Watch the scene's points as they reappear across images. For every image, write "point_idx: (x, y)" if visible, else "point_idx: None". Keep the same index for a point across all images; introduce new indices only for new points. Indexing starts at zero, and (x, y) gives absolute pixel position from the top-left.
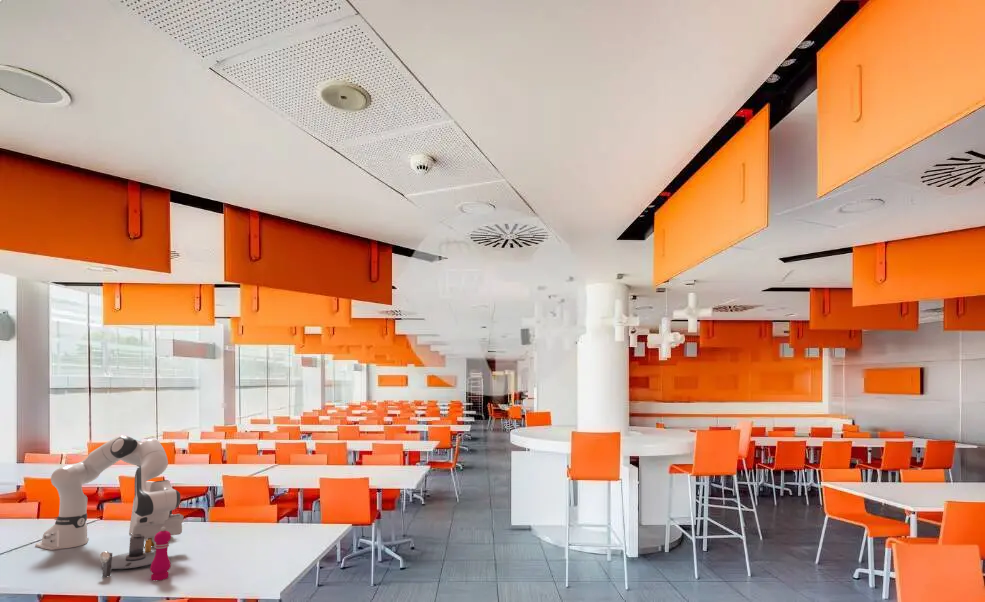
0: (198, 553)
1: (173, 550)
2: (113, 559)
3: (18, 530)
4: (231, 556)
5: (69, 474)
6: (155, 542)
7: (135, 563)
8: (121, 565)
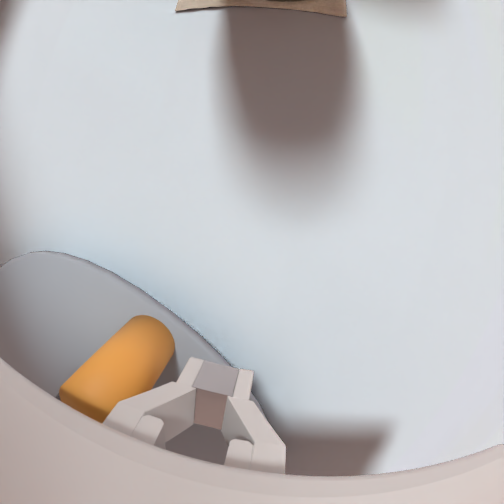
0: (443, 430)
1: (401, 273)
2: (8, 350)
3: None
4: None
5: None
6: (188, 406)
7: None
8: None
